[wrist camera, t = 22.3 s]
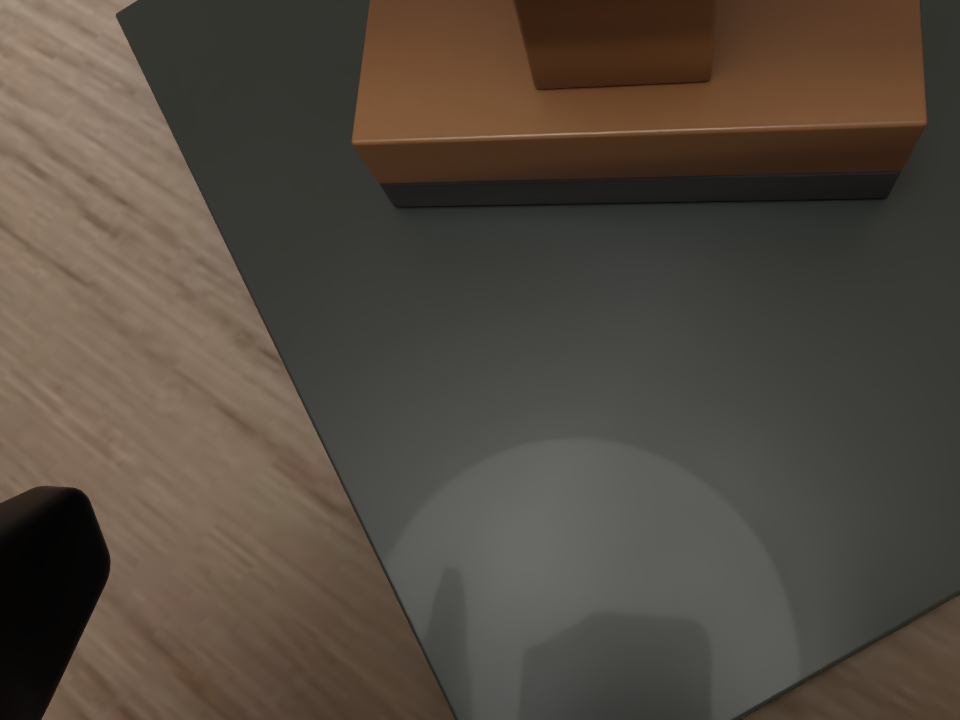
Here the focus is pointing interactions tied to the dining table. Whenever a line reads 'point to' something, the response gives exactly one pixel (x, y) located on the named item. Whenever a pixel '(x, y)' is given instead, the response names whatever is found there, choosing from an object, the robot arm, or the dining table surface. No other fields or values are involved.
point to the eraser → (638, 100)
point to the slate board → (595, 386)
